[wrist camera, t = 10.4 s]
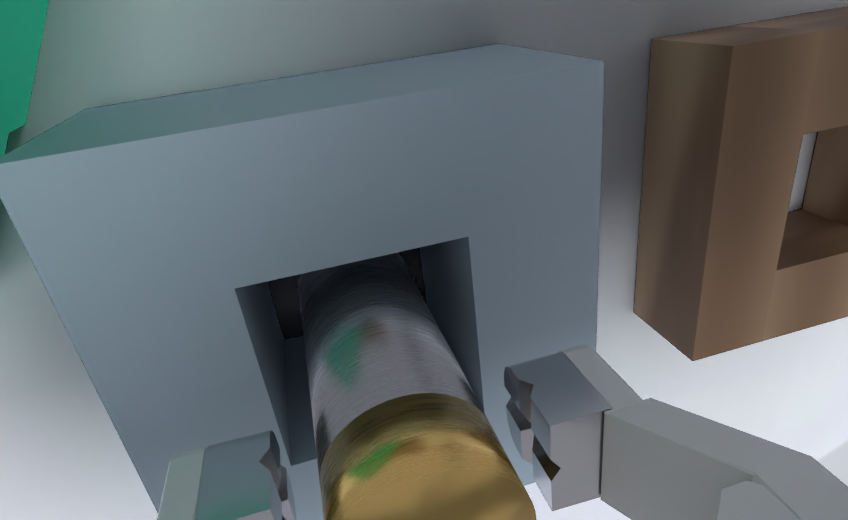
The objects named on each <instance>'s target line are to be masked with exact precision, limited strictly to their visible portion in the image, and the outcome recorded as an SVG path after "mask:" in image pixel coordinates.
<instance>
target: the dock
mask: <svg viewBox="0 0 848 520" xmlns="http://www.w3.org/2000/svg"><path fill="white" fill-rule="evenodd" d="M603 95H604V61H601V60H595V59H589V58H583V57H577V56H571V55H565V54H559V53H553V52H546V51H540V50H534V49H528V48H522V47H516V46H510V45H504V44H494V45H488V46H481V47H475V48H469V49H462V50H456V51H450V52H443V53H437V54H431V55H424V56H418V57H412V58H405V59H399V60H393V61H386V62H380V63H374V64H367V65H361V66H354V67H348V68H342V69H335V70H329V71H323V72H316V73H310V74H304V75H297V76H291V77H285V78H278V79H272V80H266V81H259V82H253V83H247V84H240V85H234V86H228V87H221V88H215V89H209V90H202V91H196V92H190V93H183V94H177V95H171V96H164V97H158V98H152V99H145V100H139V101H133V102H126V103H120V104H114V105H107V106H101V107H95V108H88V109H84V110H82V111H81V112H79V113H77V114H75V115H74V116H72V117H70V118H68V119H67V120H65V121H63V122H61V123H60V124H58V125H56V126H54V127H53V128H51V129H49V130H47V131H46V132H44V133H42V134H40V135H39V136H37V137H35V138H33V139H32V140H30V141H28V142H26V143H25V144H23V145H21V146H19V147H18V148H16V149H14V150H12V151H11V152H9V153H7V154H5V155H4V156H2V157H0V198H1V200H2V202H3V204H4V206H5V208H6V210H7V212H8V214H9V216H10V218H11V220H12V222H13V224H14V226H15V228H16V230H17V232H18V234H19V236H20V238H21V240H22V242H23V244H24V246H25V248H26V250H27V252H28V254H29V256H30V258H31V260H32V262H33V264H34V266H35V268H36V270H37V272H38V274H39V276H40V278H41V280H42V282H43V284H44V286H45V288H46V290H47V292H48V294H49V296H50V298H51V300H52V302H53V304H54V306H55V308H56V310H57V312H58V314H59V316H60V318H61V320H62V322H63V324H64V326H65V328H66V330H67V332H68V334H69V336H70V338H71V340H72V342H73V344H74V346H75V348H76V350H77V352H78V354H79V356H80V358H81V360H82V362H83V364H84V366H85V368H86V370H87V372H88V374H89V376H90V378H91V380H92V382H93V384H94V386H95V388H96V390H97V392H98V394H99V396H100V398H101V400H102V402H103V404H104V406H105V408H106V410H107V412H108V414H109V416H110V418H111V420H112V422H113V424H114V426H115V428H116V430H117V432H118V434H119V436H120V438H121V440H122V442H123V444H124V446H125V448H126V450H127V452H128V454H129V456H130V458H131V460H132V462H133V464H134V466H135V468H136V470H137V472H138V474H139V476H140V478H141V480H142V482H143V484H144V486H145V488H146V490H147V492H148V494H149V496H150V498H151V500H152V502H153V504H154V506H155V508H156V510H157V512H159V508H160V503H161V498H162V494H163V489H164V484H165V480H166V475H167V471H168V466H169V462H170V461H171V459H172V458H173V456H174V455H175V454H179V453H183V452H187V451H191V450H195V449H199V448H203V447H208V446H209V445H213V444H217V443H221V442H225V441H229V440H233V439H237V438H242V437H246V436H250V435H254V434H258V433H262V432H266V431H270V430H272V431H273V432H274V433H275V436H276V439H277V442H278V445H279V447H280V465H282V466H283V467H285V468H286V469H287V472H288V475H289V478H290V482H291V486H292V491H293V496H294V502H295V509H296V520H324V518H323V509H322V500H321V491H320V482H319V472H318V463H317V454H316V445H315V436H314V427H313V418H312V409H311V400H310V391H309V382H308V373H307V364H306V355H305V346H304V337H303V336H299V337H294V338H290V339H286V340H284V338H283V335H282V331H281V328H280V324H279V321H278V317H277V314H276V310H275V307H274V303H273V300H272V296H271V293H270V289H269V286H268V282H267V281H271V280H276V279H280V278H285V277H289V276H294V275H298V274H303V273H307V272H312V271H316V270H321V269H325V268H330V267H334V266H339V265H343V264H348V263H352V262H357V261H361V260H366V259H370V258H375V257H379V256H384V255H388V254H393V253H397V252H402V251H406V250H410V249H415V248H419V249H420V256H421V263H422V271H423V278H424V285H425V293H426V300H427V306H428V308H429V310H430V312H431V314H432V315H433V317H434V319H435V321H436V323H437V325H438V327H439V329H440V330H441V332H442V334H443V336H444V338H445V340H446V342H447V344H448V345H449V347H450V349H451V351H452V353H453V355H454V357H455V359H456V360H457V362H458V364H459V366H460V368H461V370H462V372H463V374H464V375H465V377H466V379H467V381H468V383H469V385H470V387H471V388H472V390H473V392H474V394H475V396H476V398H477V400H478V402H479V403H480V405H481V407H482V409H483V411H484V413H485V415H486V417H487V418H488V420H489V422H490V424H491V426H492V428H493V430H494V432H495V433H496V435H497V437H498V439H499V441H500V443H501V445H502V447H503V448H504V450H505V452H506V454H507V456H508V458H509V460H510V462H511V463H512V465H513V467H514V469H515V471H516V473H517V475H518V477H519V478H520V480H521V482H522V484H523V486H524V485H527V484H531V483H534V482H535V481H534V477H533V464H531V463H529V462H527V461H525V460H523V459H522V458H521V456H520V454H519V452H518V450H517V448H516V446H515V444H514V442H513V439H512V437H511V433H510V429H509V426H508V422H507V413H506V405H507V403H508V401H509V400H510V398H511V396H510V394H509V392H508V391H507V389H506V388H505V386H504V371H505V367H507V366H511V365H514V364H518V363H521V362H525V361H529V360H532V359H536V358H539V357H543V356H547V355H550V354H554V353H558V352H559V351H562V350H566V349H569V348H572V347H576V346H579V345H583V344H586V345H589V346H591V347H592V348H593V349H594V350H595V351H596V333H597V299H598V265H599V231H600V197H601V163H602V129H603Z"/></svg>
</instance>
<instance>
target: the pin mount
mask: <svg viewBox="0 0 848 520" xmlns="http://www.w3.org/2000/svg"><path fill="white" fill-rule="evenodd" d="M813 132H818V135H817V140H816V145H815V150H814V154H813V159H812V164H811V169H810V174H809V178H808V183H807V188H806V193H805V197H804V202H803V207H802V209H800V210H796V211H792V212H788V208H789V203H790V198H791V193H792V188H793V183H794V178H795V173H796V168H797V163H798V158H799V153H800V148H801V142H802V137H803V135H804V134H808V133H813ZM634 313H635V314H636V315H638V316H639V317H640V318H641V319H642V320H644V321H645V322H646V323H647V324H648V325H650V326H651V327H652V328H653V329H654V330H656V331H657V332H658V333H659V334H660V335H662V336H663V337H664V338H665V339H666V340H668V341H669V342H670V343H671V344H672V345H674V346H675V347H676V348H677V349H678V350H680V351H681V352H682V353H683V354H684V355H686V356H687V357H688V358H689V359H690V360H692V361H695V360H698V359H702V358H705V357H709V356H712V355H716V354H719V353H723V352H726V351H730V350H733V349H736V348H740V347H743V346H747V345H750V344H754V343H757V342H761V341H764V340H768V339H771V338H775V337H778V336H782V335H785V334H789V333H792V332H795V331H799V330H802V329H806V328H809V327H813V326H816V325H820V324H823V323H827V322H830V321H834V320H837V319H841V318H844V317H847V316H848V7H842V8H836V9H830V10H824V11H818V12H812V13H806V14H800V15H794V16H788V17H782V18H776V19H770V20H763V21H757V22H751V23H745V24H739V25H733V26H727V27H721V28H715V29H709V30H703V31H697V32H691V33H685V34H679V35H673V36H667V37H660V38H654V39H652V41H651V56H650V71H649V87H648V102H647V117H646V132H645V148H644V163H643V178H642V194H641V209H640V224H639V240H638V255H637V270H636V286H635V301H634Z"/></svg>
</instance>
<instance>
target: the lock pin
mask: <svg viewBox="0 0 848 520" xmlns="http://www.w3.org/2000/svg"><path fill="white" fill-rule="evenodd" d="M297 282H298V291H299V300H300V309H301V319H302V328H303V337H304V346H305V355H306V364H307V373H308V382H309V391H310V400H311V409H312V418H313V427H314V436H315V445H316V454H317V463H318V472H319V482H320V491H321V500H322V509H323V518H324V520H536V513H535V509H534V506H533V503H532V501H531V499H530V497H529V495H528V493H527V492H526V490H525V488H524V486H523V484H522V482H521V480H520V478H519V477H518V475H517V473H516V471H515V469H514V467H513V465H512V463H511V462H510V460H509V458H508V456H507V454H506V452H505V450H504V448H503V447H502V445H501V443H500V441H499V439H498V437H497V435H496V433H495V432H494V430H493V428H492V426H491V424H490V422H489V420H488V418H487V417H486V415H485V413H484V411H483V409H482V407H481V405H480V403H479V402H478V400H477V398H476V396H475V394H474V392H473V390H472V388H471V387H470V385H469V383H468V381H467V379H466V377H465V375H464V374H463V372H462V370H461V368H460V366H459V364H458V362H457V360H456V359H455V357H454V355H453V353H452V351H451V349H450V347H449V345H448V344H447V342H446V340H445V338H444V336H443V334H442V332H441V330H440V329H439V327H438V325H437V323H436V321H435V319H434V317H433V315H432V314H431V312H430V310H429V308H428V306H427V304H426V302H425V300H424V299H423V297H422V295H421V293H420V291H419V289H418V287H417V285H416V284H415V282H414V280H413V278H412V276H411V274H410V272H409V270H408V269H407V267H406V265H405V263H404V261H403V259H402V257H401V255H400V254H399V252H397V253H393V254H388V255H384V256H379V257H375V258H370V259H366V260H361V261H357V262H352V263H348V264H343V265H339V266H334V267H330V268H325V269H321V270H316V271H312V272H307V273H303V274H298V275H297Z"/></svg>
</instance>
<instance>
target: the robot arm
mask: <svg viewBox="0 0 848 520" xmlns="http://www.w3.org/2000/svg"><path fill="white" fill-rule="evenodd" d="M504 386H505V388H506V389H507V391H508V392H509V394H510V396H511V398H510V400H509V401H508V403H507V405H506V413H507V422H508V426H509V429H510V433H511V437H512V439H513V442H514V444H515V446H516V448H517V450H518V452H519V454H520V456H521V458H522V459H523V460H525V461H527V462H529V463H531V464H533V477H534V481H535V482H536V484H537V486H538V488H539V489H540V491H541V493H542V495H543V496H544V498H545V500H546V502H547V503H548V505H549V507H550V509H551V510H552V511H554V510H558V509H561V508H564V507H568V506H571V505H575V504H578V503H581V502H585V501H588V500H592V499H595V498H598V497H601V500H602V501H604V502H605V503H607V504H608V505H610V506H611V507H613V508H614V509H616V510H618V511H619V512H621V513H622V514H624V515H625V516H627V517H628V518H630V519H631V520H848V486H847V485H845V484H844V483H843V482H842V481H840V480H839V479H838V478H837V477H836V476H834V475H833V474H832V473H831V472H830V471H828V470H827V469H826V468H825V467H824V466H822V465H821V464H820V463H819V462H818V461H816V460H815V459H814V458H813V457H811V456H809V455H806V454H803V453H800V452H798V451H795V450H792V449H789V448H787V447H784V446H781V445H778V444H776V443H773V442H770V441H767V440H765V439H762V438H759V437H756V436H754V435H751V434H748V433H745V432H743V431H740V430H737V429H734V428H732V427H729V426H726V425H723V424H721V423H718V422H715V421H713V420H710V419H707V418H704V417H702V416H699V415H696V414H693V413H691V412H688V411H685V410H682V409H680V408H677V407H674V406H671V405H669V404H666V403H663V402H660V401H658V400H655V399H652V398H650V399H646V400H642V399H641V398H640V397H639V396H638V395H637V394H636V393H635V392H634V390H633V389H632V388H631V387H630V386H629V385H628V384H627V383H626V382H625V381H624V380H623V379H622V378H621V377H620V376H619V375H618V374H617V373H616V372H615V371H614V370H613V369H612V368H611V367H610V366H609V365H608V364H607V363H606V362H605V361H604V360H603V359H602V358H601V356H600V355H599V354H598V353H597V352H596V351H595V350H594V349H593V348H592V347H591V346H589V345H586V344H583V345H579V346H576V347H572V348H569V349H566V350H562V351H559V352H558V353H554V354H550V355H547V356H543V357H539V358H536V359H532V360H529V361H525V362H521V363H518V364H514V365H511V366H507V367H505V371H504ZM157 520H296V509H295V502H294V496H293V491H292V486H291V482H290V478H289V475H288V472H287V469H286V468H285V467H283V466H282V465H280V447H279V445H278V442H277V439H276V436H275V433H274V432H273V431H272V430H270V431H266V432H262V433H258V434H254V435H250V436H246V437H242V438H237V439H233V440H229V441H225V442H221V443H217V444H213V445H209V446H208V447H203V448H199V449H195V450H191V451H187V452H183V453H179V454H175V455H174V456H173V458H172V459H171V461H170V462H169V466H168V471H167V475H166V480H165V484H164V489H163V494H162V498H161V503H160V508H159V512H158V517H157Z"/></svg>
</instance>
